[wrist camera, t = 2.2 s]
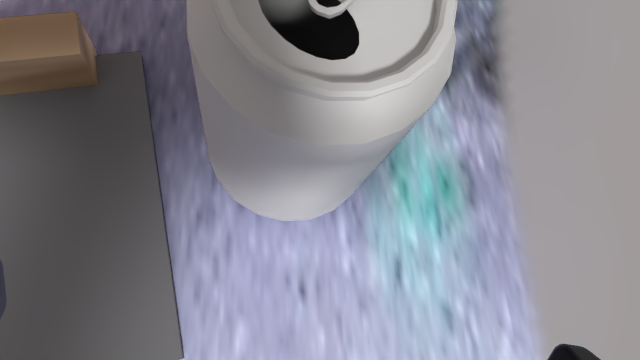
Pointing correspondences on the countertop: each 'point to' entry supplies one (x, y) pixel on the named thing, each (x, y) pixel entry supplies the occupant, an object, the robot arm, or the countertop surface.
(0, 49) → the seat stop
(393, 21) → the can
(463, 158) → the countertop surface
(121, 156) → the seat pad
